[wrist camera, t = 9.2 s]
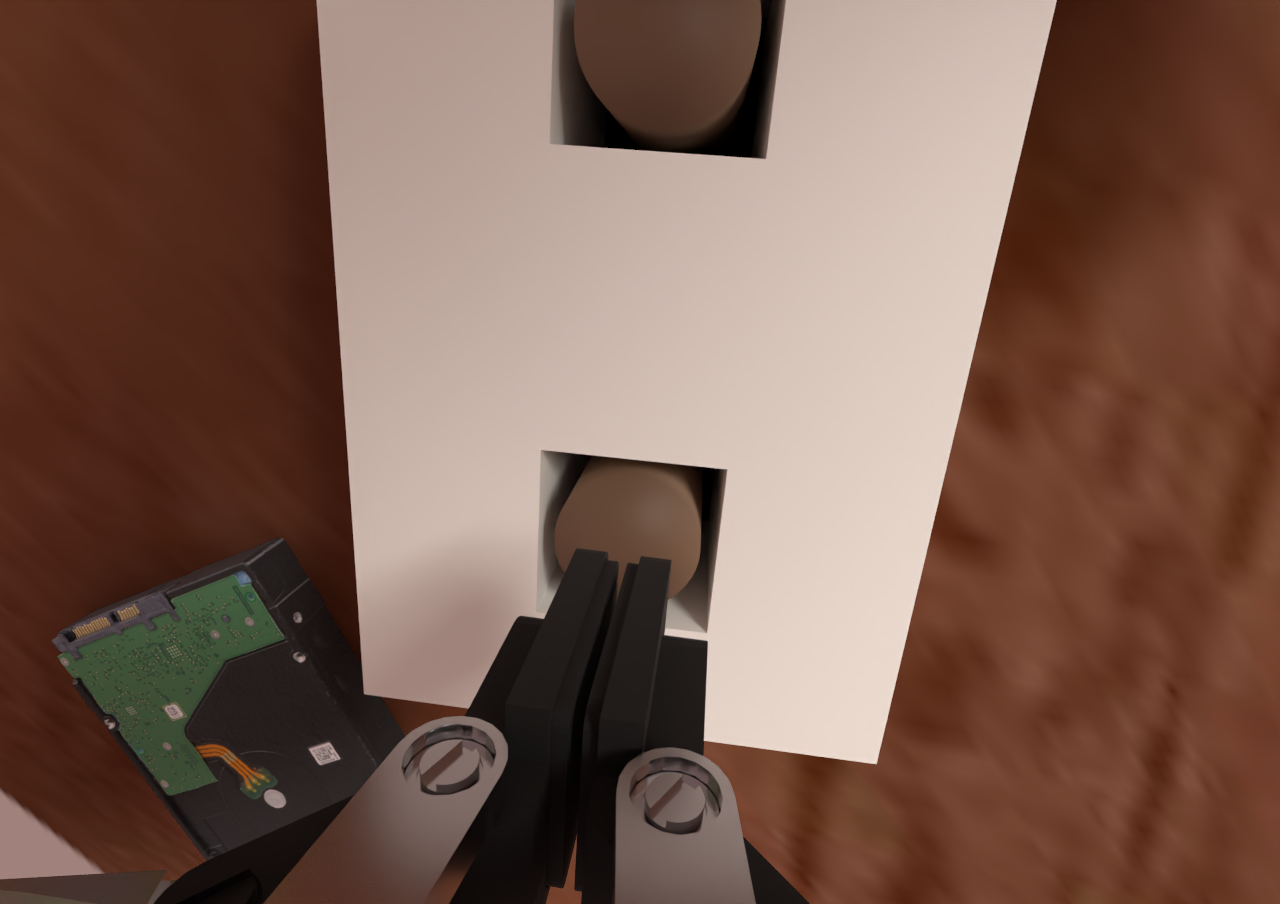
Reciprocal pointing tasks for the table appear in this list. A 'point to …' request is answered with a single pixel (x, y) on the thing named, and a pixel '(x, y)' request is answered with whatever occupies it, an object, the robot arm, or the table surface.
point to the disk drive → (232, 696)
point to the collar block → (665, 332)
